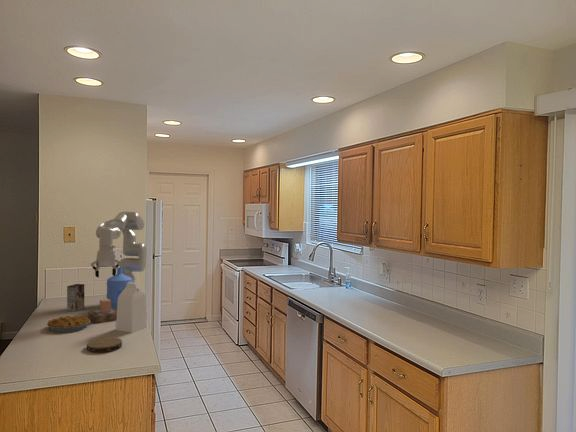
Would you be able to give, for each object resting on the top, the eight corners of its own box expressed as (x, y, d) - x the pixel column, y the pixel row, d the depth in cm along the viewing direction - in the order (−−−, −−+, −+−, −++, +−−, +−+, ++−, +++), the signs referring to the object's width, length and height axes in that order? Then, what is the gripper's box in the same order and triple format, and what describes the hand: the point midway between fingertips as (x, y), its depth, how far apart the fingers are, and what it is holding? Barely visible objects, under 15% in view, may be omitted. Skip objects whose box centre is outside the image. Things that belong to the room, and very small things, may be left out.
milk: (146, 327, 251) (147, 282, 251) (131, 332, 241) (132, 285, 240) (131, 324, 256) (131, 280, 256) (115, 329, 246) (116, 283, 245)
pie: (96, 328, 249) (96, 319, 249) (55, 336, 233) (55, 326, 232) (80, 320, 264) (80, 312, 263) (41, 327, 247) (41, 318, 247)
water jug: (100, 311, 285) (101, 268, 284) (118, 306, 299) (119, 265, 298) (119, 314, 279) (120, 270, 278) (136, 309, 293) (137, 267, 292)
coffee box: (76, 307, 294) (76, 283, 293) (84, 308, 292) (84, 284, 292) (66, 310, 285) (66, 286, 284) (75, 311, 283) (75, 286, 283)
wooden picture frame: (114, 314, 278) (114, 307, 278) (122, 319, 267) (122, 312, 267) (87, 318, 268) (87, 311, 268) (94, 323, 257) (95, 315, 257)
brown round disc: (107, 341, 227) (108, 335, 227) (128, 346, 219) (128, 340, 219) (79, 349, 213) (79, 343, 213) (100, 356, 205) (100, 349, 205)
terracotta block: (108, 310, 271) (108, 298, 271) (110, 311, 267) (111, 300, 267) (99, 311, 268) (99, 299, 268) (102, 313, 264) (102, 301, 264)
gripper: (118, 246, 275) (117, 274, 275) (89, 248, 264) (88, 276, 264) (122, 248, 269) (122, 275, 270) (92, 249, 258) (92, 278, 258)
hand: (105, 276), depth 267 cm, fingers open, 9 cm apart
